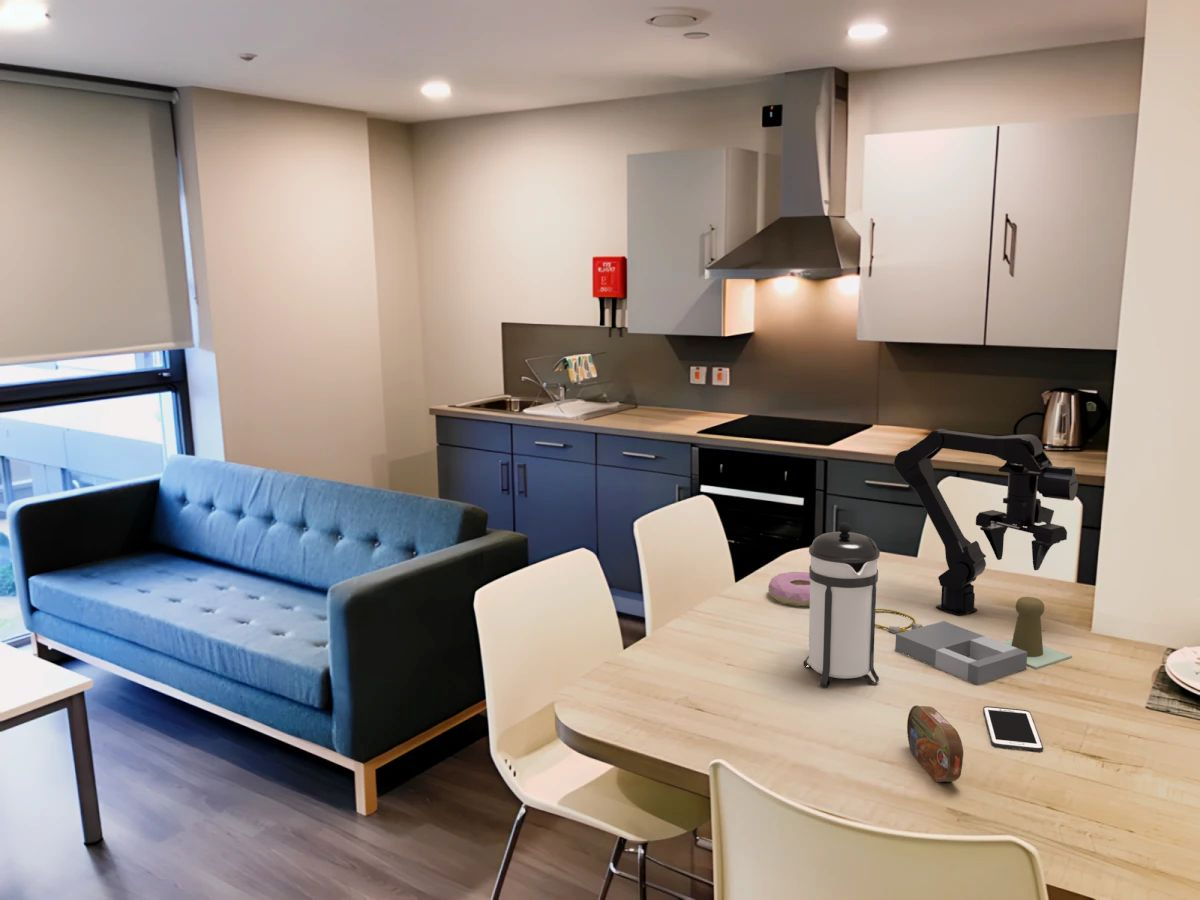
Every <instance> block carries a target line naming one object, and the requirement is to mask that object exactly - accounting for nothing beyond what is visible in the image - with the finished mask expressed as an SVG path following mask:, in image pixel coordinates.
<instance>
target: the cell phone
mask: <svg viewBox="0 0 1200 900" xmlns="http://www.w3.org/2000/svg"><path fill="white" fill-rule="evenodd" d="M982 713H983V714H982V715H983V716H984V718H985V724H986V729H987V734H988V737H989V740H990V744H991V746H992V747H994V748H995V749H997V748H998V749H1007V750H1021V751H1023V752H1032V753H1043V751H1044V746H1043V742H1042V739H1041V737H1040V734H1039V731H1038V729H1037V726H1036V724H1035V721H1034V718H1033V715H1032V713H1031V711H1029V710H1026V709H1020V708H1019V709H1018V708H1012V707H1011V708H1008V707H999V706H988V705H987V706H985V705H984V706H983V709H982Z"/></svg>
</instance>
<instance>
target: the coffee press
mask: <svg viewBox="0 0 1200 900" xmlns="http://www.w3.org/2000/svg"><path fill="white" fill-rule="evenodd" d="M851 526H852V525H851V524H850V523H848V522H847V521H843V522H841V523H840V524H839V525H838V527H837V529H838V530H839V531H831V532H826V533H822V534H820V535H818V536H817V537H815V539H813V541H812V544H810V545H809V547H808V553H809V556H810V565H809V570H808V573H809V577H810V606H809V615H808V616H809V619H808V655H807V657H806V658H805V659H804V660H803V666H805V668H806V666H807V665H811V666H809V667H808V668H807V669H809V668H812V669H813V670H814V671H815V672H817V673H819V674H820V675H821V677H820V680H819V686H820V687H824V688H829V687H830V685H831V682H832V680H833V679H834V678H836V679H857V678H861V677H862V678H864V679H865V680H866V681H867V682H868V683H869V684H870V685H872V686H875V685H876V684H878V683H879V681H880V678H879V676H878V674H877V673H876V671H875V666H874V663H875V662H874V661H875V660H874V658H875V656H874V655H875V633H876V632H875V631H876V630H875V624H876V613H875V609H876V603H877V600H876V599H877V583H878V579H879V570H878V559H879V558H880V556H881V555H880V553H881V551H880V549H879V548H877V547H878V546H877V543H876V542H875V541H874V540H873V539H872V538H871V537H869V536H867V535H864V534H860V533H857V532H851V530H852V527H851ZM808 663H809V664H808ZM869 673H870V674H871V675H872V678H873V679H874V680H873V679H872V678H871V677H870V675H868V674H869Z"/></svg>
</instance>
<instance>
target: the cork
mask: <svg viewBox="0 0 1200 900" xmlns="http://www.w3.org/2000/svg"><path fill="white" fill-rule="evenodd" d="M1015 610H1016V612H1017V619H1016V622H1015V627H1014V632H1013V636H1012V639H1013V640H1012V645H1011V646H1013V647H1016V648H1018V649H1021V650H1024V651H1027V657H1039V656H1042V655H1043V644H1044V643H1043V633H1042V618H1041V616H1042V615H1043V614H1044V612H1045V603H1044V601H1042V600H1041V599H1039V598H1037V597H1033V596H1032V597H1031V596H1022V597H1020V598H1018V599H1017V601H1016V603H1015Z"/></svg>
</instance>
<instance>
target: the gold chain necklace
mask: <svg viewBox="0 0 1200 900" xmlns="http://www.w3.org/2000/svg"><path fill="white" fill-rule="evenodd" d="M875 612H876V613H884V612H890V613H889V614H893V613H896V614H895V615H897V614H900V615H899V616H901V615H903V616H902V617H904V616H905V617H904V618H906V617H908V618H910V619H909V620H911V619H912V620H913V621H912V620H911V621H912V622H911V623H910V624H909V625H908V626H905V627H900V626H891V625H890V626H889V627H887V626H884V625H880V624H876V623H875V627H878V628H877V629H880V628H886V629H885V630H888V632H889V631H890V633H892V634H894V633H895V634H894V635H896V634H898V633H901V632H905V631H909V630H910V629H909V628H910V627H911V629H912V630H913V629H916V628H920V627H924V625H922V624H918V623H916V619H915V618H914V617H912V616H911V615H909V614H907V613H904V612H900V611H897V610H893V609H887V608H885V609H884V608H875ZM908 618H907V619H908ZM903 628H907V629H903Z"/></svg>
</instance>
